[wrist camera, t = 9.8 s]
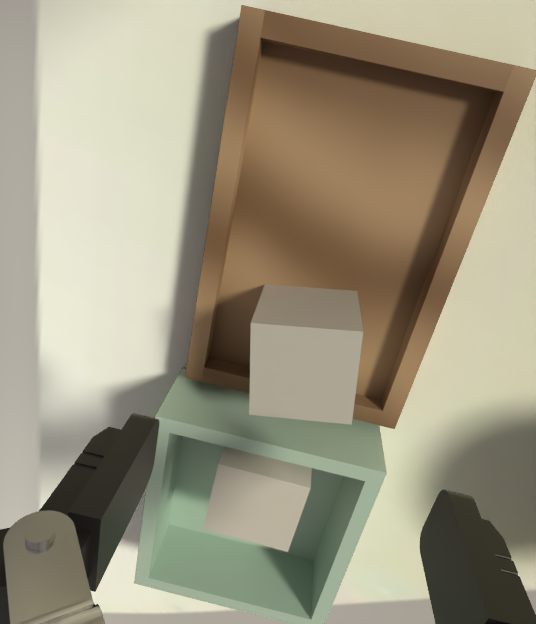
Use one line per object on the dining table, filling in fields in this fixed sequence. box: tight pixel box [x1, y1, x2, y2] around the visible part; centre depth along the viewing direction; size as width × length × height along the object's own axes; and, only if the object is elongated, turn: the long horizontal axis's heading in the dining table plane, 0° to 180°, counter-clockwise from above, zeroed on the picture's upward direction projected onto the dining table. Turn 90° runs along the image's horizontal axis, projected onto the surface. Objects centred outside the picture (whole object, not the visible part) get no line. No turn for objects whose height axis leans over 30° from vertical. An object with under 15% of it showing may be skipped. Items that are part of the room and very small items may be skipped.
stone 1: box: [249, 284, 363, 425], centre depth 19 cm, size 4×4×4 cm
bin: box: [134, 368, 386, 624], centre depth 24 cm, size 11×10×4 cm
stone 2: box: [203, 446, 312, 552], centre depth 22 cm, size 4×4×4 cm
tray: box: [185, 5, 536, 429], centre depth 19 cm, size 15×10×2 cm, turn 168°
